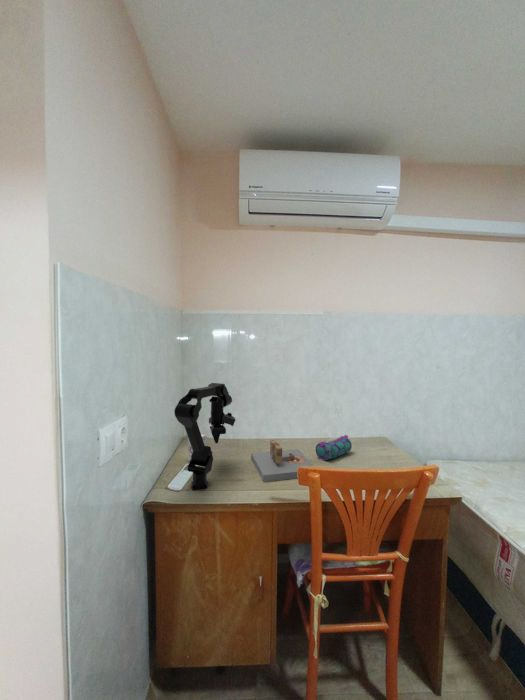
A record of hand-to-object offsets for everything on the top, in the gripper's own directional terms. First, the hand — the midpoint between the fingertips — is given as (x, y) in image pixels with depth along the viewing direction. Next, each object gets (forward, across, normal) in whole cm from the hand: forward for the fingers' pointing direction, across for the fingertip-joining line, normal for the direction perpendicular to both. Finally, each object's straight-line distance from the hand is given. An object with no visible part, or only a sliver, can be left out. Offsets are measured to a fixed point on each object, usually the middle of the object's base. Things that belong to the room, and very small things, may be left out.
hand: (216, 443), depth 129 cm
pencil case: (+13, +3, -64) cm, 65 cm away
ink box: (+13, +14, +8) cm, 21 cm away
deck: (+13, -3, -32) cm, 35 cm away
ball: (+12, -3, -38) cm, 40 cm away
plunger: (+10, -3, -32) cm, 34 cm away
